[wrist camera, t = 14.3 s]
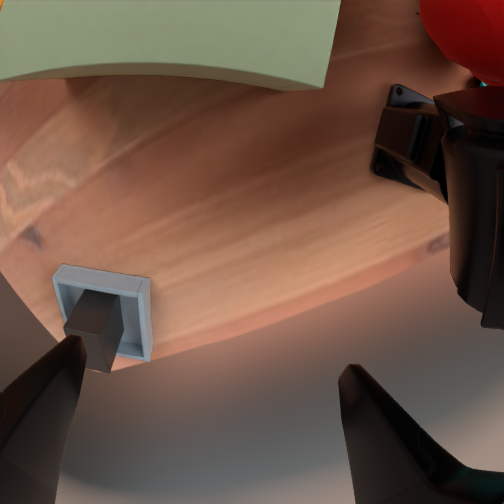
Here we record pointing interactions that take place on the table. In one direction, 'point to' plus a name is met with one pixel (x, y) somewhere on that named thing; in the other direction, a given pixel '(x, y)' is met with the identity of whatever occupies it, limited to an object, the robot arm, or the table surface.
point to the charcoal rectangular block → (97, 327)
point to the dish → (131, 298)
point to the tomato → (469, 34)
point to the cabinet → (170, 40)
